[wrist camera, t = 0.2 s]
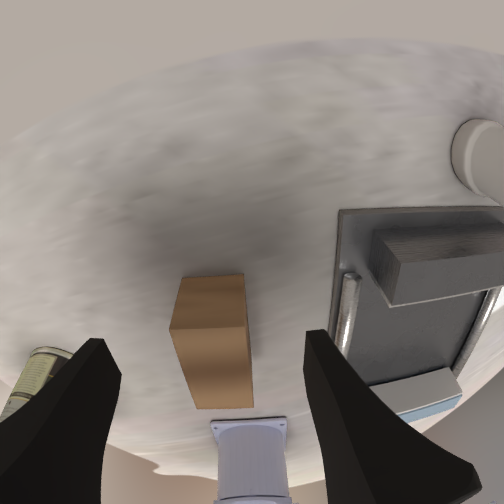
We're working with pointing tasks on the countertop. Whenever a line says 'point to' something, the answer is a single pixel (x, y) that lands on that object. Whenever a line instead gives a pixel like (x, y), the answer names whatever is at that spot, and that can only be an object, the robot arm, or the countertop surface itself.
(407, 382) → the bar
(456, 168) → the bottle
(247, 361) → the walnut block
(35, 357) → the coffee can
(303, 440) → the countertop surface
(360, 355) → the vise
